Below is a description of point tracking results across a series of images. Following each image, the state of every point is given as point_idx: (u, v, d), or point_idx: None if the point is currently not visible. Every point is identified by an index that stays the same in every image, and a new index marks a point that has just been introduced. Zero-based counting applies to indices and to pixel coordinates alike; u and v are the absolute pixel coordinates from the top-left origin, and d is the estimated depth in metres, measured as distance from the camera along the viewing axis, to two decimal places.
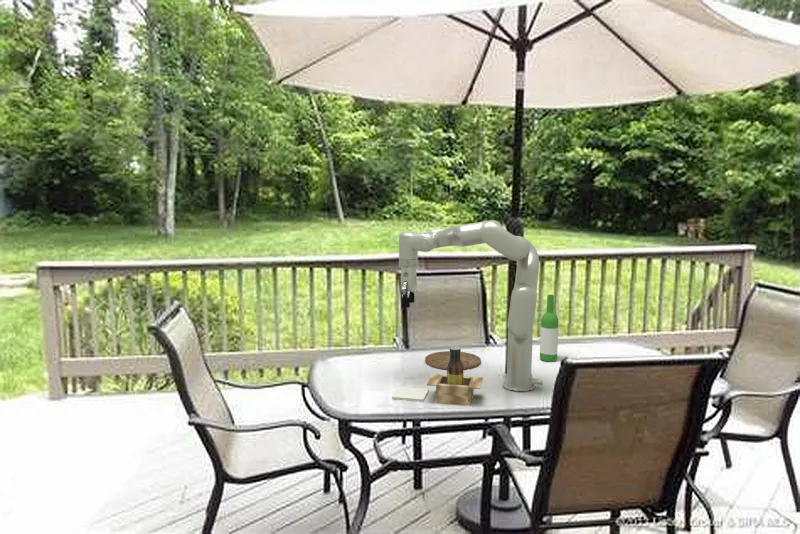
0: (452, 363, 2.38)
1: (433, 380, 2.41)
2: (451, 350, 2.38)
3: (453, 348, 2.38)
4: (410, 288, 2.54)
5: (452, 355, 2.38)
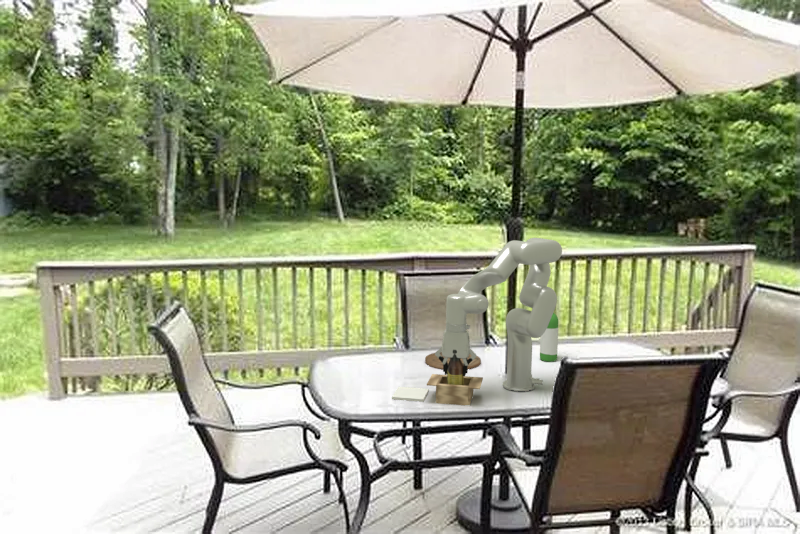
0: (452, 363, 2.38)
1: (433, 380, 2.41)
2: None
3: None
4: None
5: None
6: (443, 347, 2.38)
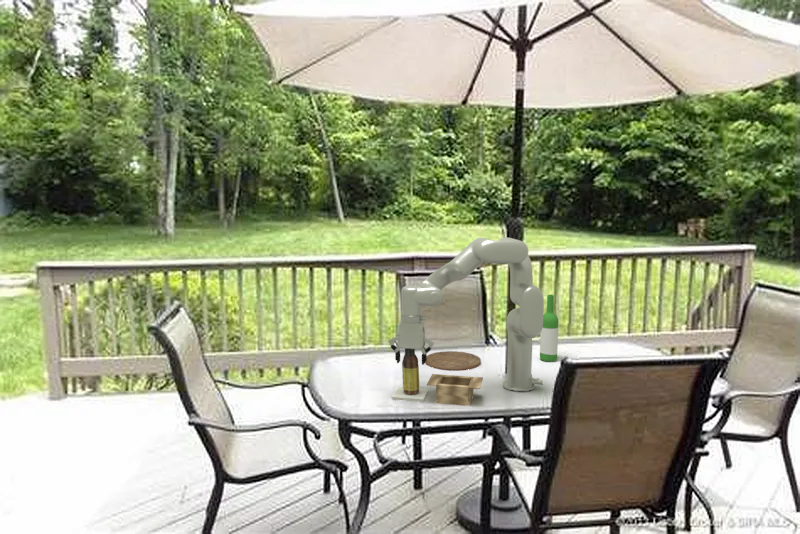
0: (406, 357, 2.42)
1: (433, 380, 2.41)
2: None
3: None
4: (424, 342, 2.43)
5: (406, 349, 2.42)
6: (398, 338, 2.41)
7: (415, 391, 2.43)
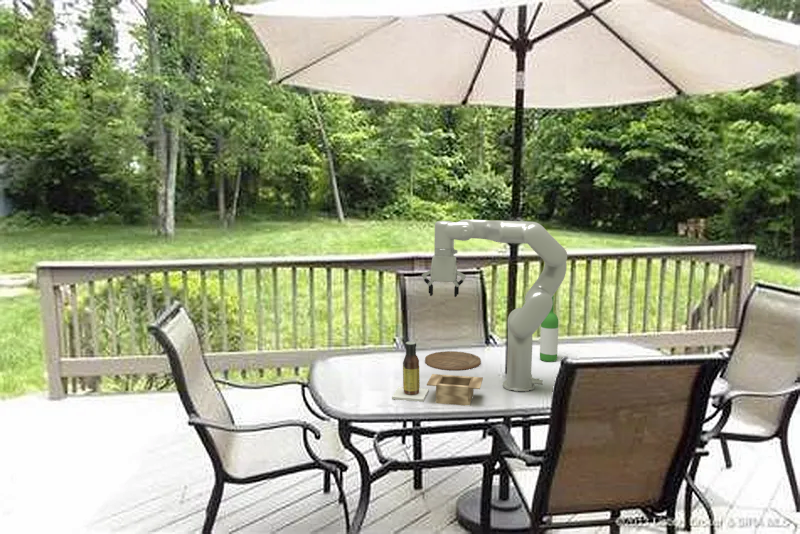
0: (407, 357, 2.41)
1: (433, 380, 2.41)
2: (406, 345, 2.41)
3: (409, 343, 2.42)
4: None
5: (407, 350, 2.41)
6: (432, 271, 2.50)
7: (415, 392, 2.43)
